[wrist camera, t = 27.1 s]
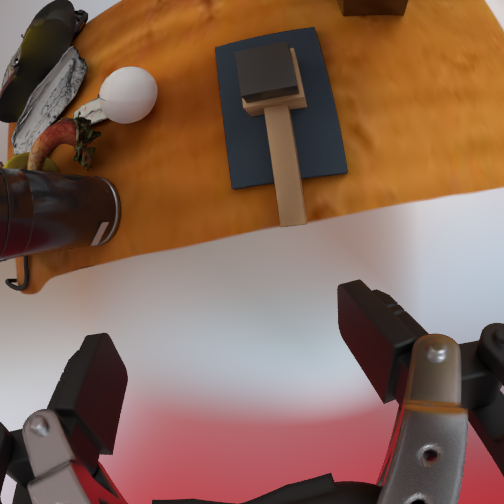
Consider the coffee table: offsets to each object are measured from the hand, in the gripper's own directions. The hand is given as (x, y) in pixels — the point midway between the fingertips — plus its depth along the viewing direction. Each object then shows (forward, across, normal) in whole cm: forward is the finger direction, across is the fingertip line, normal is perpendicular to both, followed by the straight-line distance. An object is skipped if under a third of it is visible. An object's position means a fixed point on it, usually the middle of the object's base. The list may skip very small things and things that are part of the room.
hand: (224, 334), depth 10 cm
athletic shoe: (+34, +28, -29) cm, 53 cm away
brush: (+23, -8, -5) cm, 25 cm away
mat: (+25, -9, -9) cm, 28 cm away
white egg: (+28, +7, -18) cm, 34 cm away
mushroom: (+28, +17, -15) cm, 36 cm away
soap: (+34, +15, -15) cm, 40 cm away
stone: (+41, +28, -24) cm, 55 cm away
